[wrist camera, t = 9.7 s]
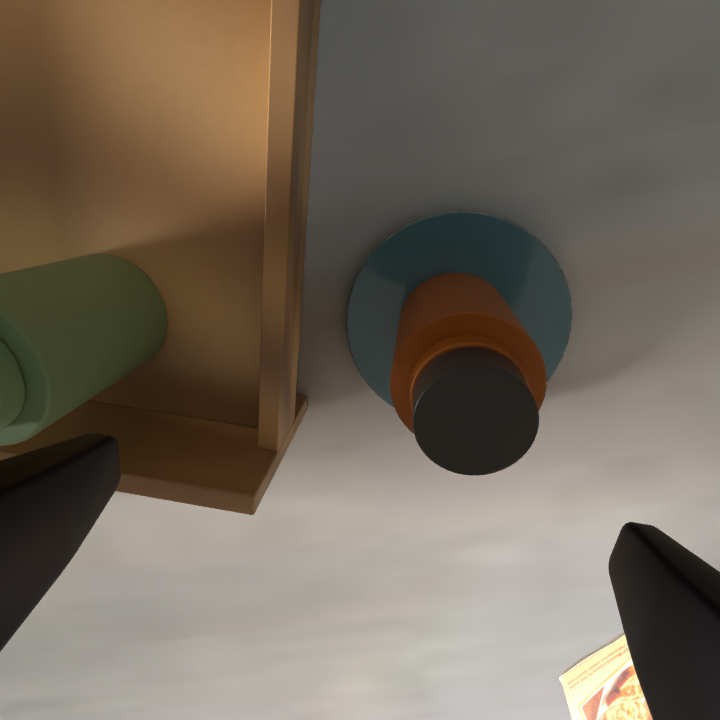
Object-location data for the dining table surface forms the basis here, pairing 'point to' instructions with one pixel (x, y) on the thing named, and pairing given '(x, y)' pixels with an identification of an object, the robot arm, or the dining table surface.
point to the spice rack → (172, 216)
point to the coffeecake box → (605, 686)
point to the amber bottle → (466, 375)
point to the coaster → (449, 255)
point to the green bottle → (71, 336)
